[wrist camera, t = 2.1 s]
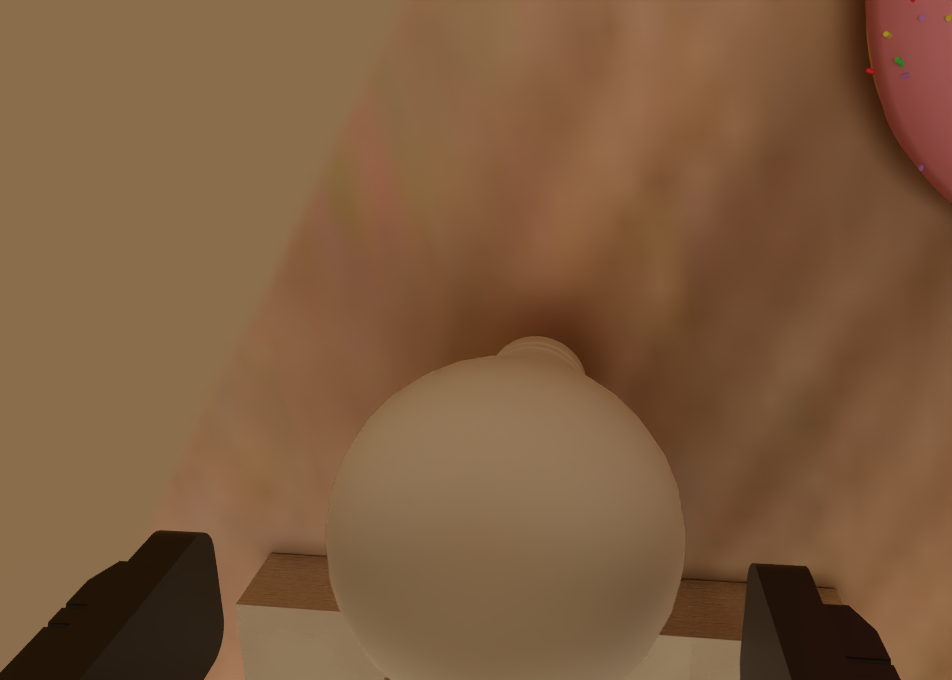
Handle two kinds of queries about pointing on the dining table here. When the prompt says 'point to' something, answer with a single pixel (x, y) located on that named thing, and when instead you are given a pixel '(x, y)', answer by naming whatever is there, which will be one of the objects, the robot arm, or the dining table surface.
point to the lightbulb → (505, 525)
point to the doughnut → (915, 80)
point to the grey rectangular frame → (355, 676)
